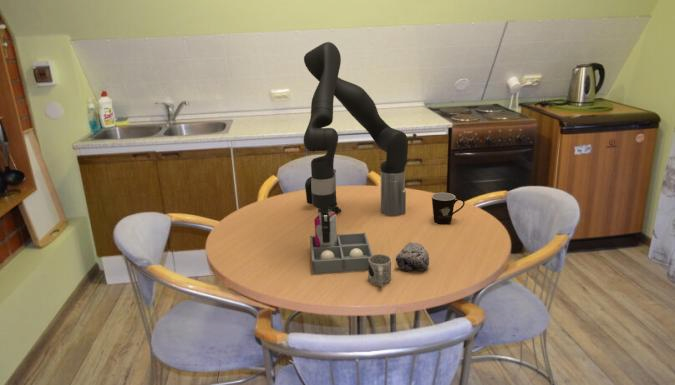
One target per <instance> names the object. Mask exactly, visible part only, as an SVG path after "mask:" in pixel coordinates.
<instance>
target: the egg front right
mask: <svg viewBox="0 0 675 385" xmlns="http://www.w3.org/2000/svg"><path fill="white" fill-rule="evenodd" d="M334 258H335V257H334V254H333V252H332V251H329V250H326V251H324V252H322V254H321V260H331V259H334Z"/></svg>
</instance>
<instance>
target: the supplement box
mask: <svg viewBox="0 0 675 385" xmlns="http://www.w3.org/2000/svg"><path fill="white" fill-rule="evenodd" d="M336 214H337V213H331V216H330V223H331V224H330V232H329V237H330V242H329V243H323V237H322V226H321V225H320V218H319V215H317V216H316V217H315V218H314V219H313V223H314V236H315V241H316V248H317V247H332V246H337V235H338V233H337V215H336ZM321 221H322V219H321ZM324 228H328V226H324Z"/></svg>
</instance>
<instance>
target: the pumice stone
mask: <svg viewBox="0 0 675 385" xmlns="http://www.w3.org/2000/svg"><path fill="white" fill-rule="evenodd" d="M395 262H396V265H397V266H398V267H399V268H400V269H401V270H403V271H406V272H414V271H426V270H427V269H428V267H429V265H430V257H429V252H428V251H427V249H426V248H425V247H424V246H423V244H421V243H419V242H412V241H409V242H408V243H407V244H406V245H404V247H403V248H402V249H401V251H400V252H398V254H396V256H395Z"/></svg>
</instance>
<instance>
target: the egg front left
mask: <svg viewBox="0 0 675 385" xmlns="http://www.w3.org/2000/svg"><path fill="white" fill-rule="evenodd" d="M349 257H350V258H360V257H363V252H362V251H361V250H360V249H358V248H355V249H352V250H351V251H350V254H349Z"/></svg>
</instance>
